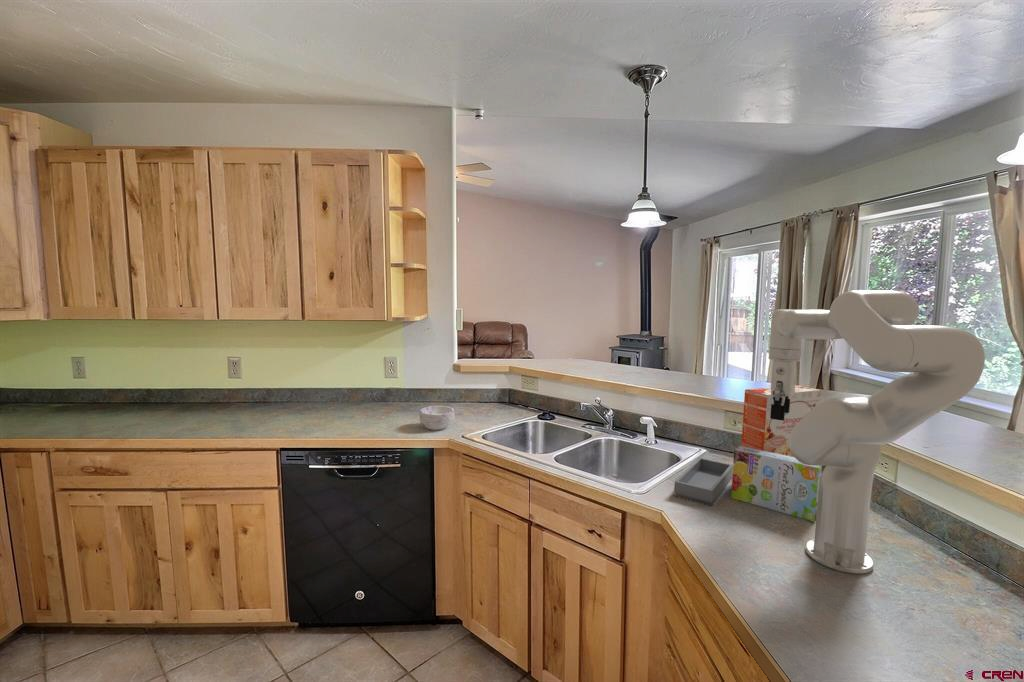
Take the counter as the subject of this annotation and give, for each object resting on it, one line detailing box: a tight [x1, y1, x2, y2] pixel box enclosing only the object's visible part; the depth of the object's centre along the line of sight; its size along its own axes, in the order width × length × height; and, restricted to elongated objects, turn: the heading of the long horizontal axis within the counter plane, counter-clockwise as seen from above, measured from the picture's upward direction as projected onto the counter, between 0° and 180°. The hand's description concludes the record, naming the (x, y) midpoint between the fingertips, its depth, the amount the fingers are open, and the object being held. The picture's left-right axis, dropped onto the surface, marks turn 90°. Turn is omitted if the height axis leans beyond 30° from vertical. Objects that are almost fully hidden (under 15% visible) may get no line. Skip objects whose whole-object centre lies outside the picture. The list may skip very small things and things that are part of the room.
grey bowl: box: [419, 405, 455, 431], centre depth 204 cm, size 15×15×8 cm
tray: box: [673, 457, 733, 507], centre depth 144 cm, size 26×11×4 cm, turn 143°
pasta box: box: [740, 384, 821, 457], centre depth 148 cm, size 23×8×30 cm, turn 111°
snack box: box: [730, 445, 823, 523], centre depth 130 cm, size 21×6×15 cm, turn 47°
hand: (779, 415), depth 129 cm, fingers open, 9 cm apart
